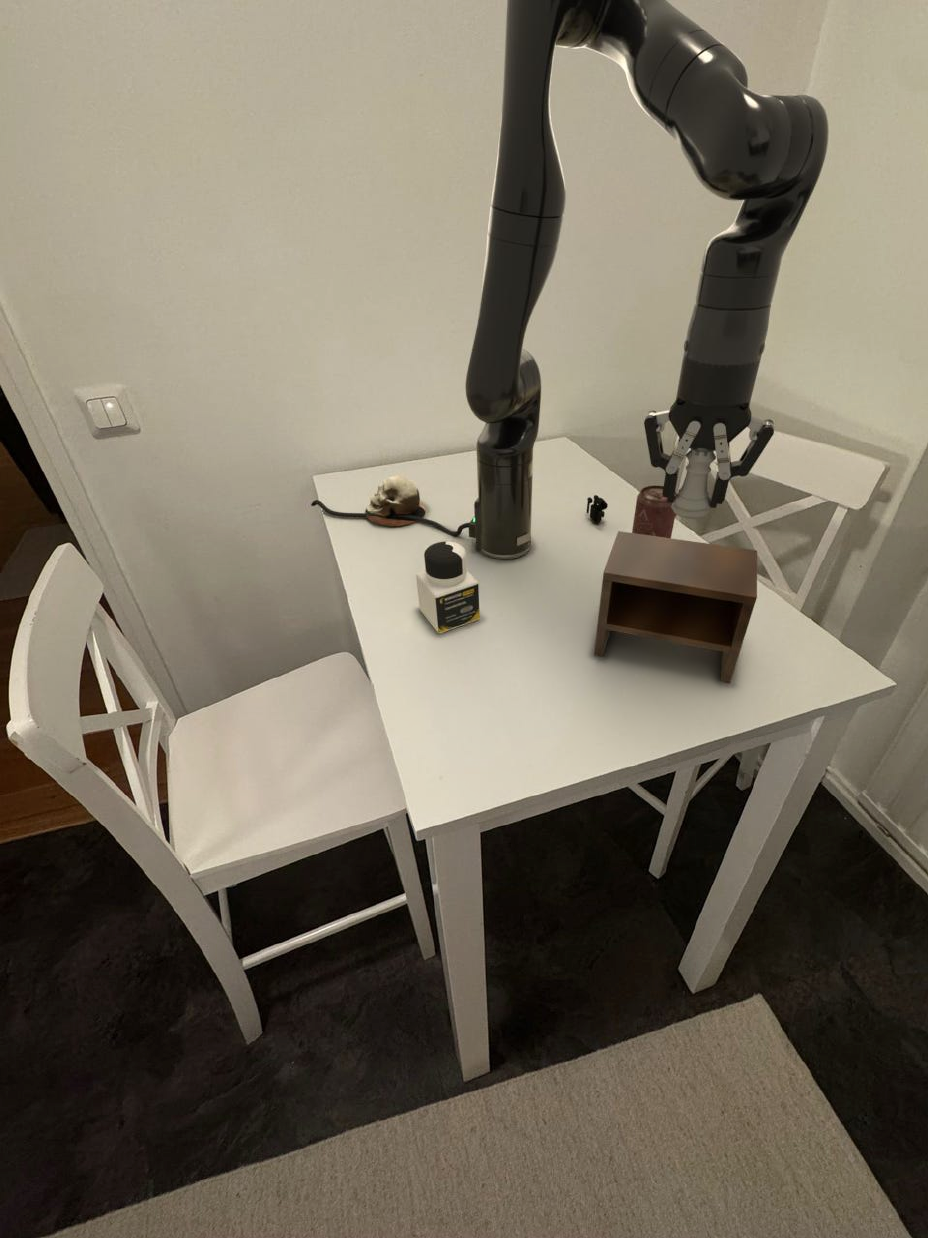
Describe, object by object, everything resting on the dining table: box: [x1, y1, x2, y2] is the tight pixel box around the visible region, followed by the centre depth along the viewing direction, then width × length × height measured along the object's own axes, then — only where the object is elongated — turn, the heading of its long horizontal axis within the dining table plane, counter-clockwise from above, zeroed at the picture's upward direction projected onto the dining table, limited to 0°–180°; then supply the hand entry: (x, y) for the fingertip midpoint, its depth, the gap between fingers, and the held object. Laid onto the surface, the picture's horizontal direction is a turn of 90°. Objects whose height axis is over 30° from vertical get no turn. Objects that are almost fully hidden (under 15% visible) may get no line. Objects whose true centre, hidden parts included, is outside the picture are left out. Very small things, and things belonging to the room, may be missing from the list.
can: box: [631, 484, 677, 538], centre depth 97 cm, size 6×6×14 cm
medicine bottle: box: [415, 541, 481, 634], centre depth 90 cm, size 7×7×12 cm
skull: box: [364, 475, 426, 527], centre depth 120 cm, size 12×10×10 cm
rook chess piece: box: [671, 448, 717, 520], centre depth 71 cm, size 4×4×8 cm
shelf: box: [593, 530, 758, 684], centre depth 82 cm, size 18×11×14 cm, turn 69°
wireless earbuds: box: [585, 494, 609, 526], centre depth 114 cm, size 7×2×5 cm, turn 14°
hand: (691, 501), depth 72 cm, fingers closed on rook chess piece, 4 cm apart
